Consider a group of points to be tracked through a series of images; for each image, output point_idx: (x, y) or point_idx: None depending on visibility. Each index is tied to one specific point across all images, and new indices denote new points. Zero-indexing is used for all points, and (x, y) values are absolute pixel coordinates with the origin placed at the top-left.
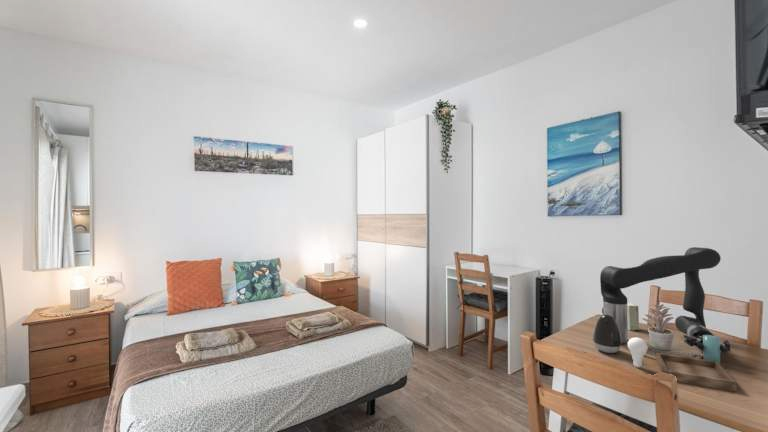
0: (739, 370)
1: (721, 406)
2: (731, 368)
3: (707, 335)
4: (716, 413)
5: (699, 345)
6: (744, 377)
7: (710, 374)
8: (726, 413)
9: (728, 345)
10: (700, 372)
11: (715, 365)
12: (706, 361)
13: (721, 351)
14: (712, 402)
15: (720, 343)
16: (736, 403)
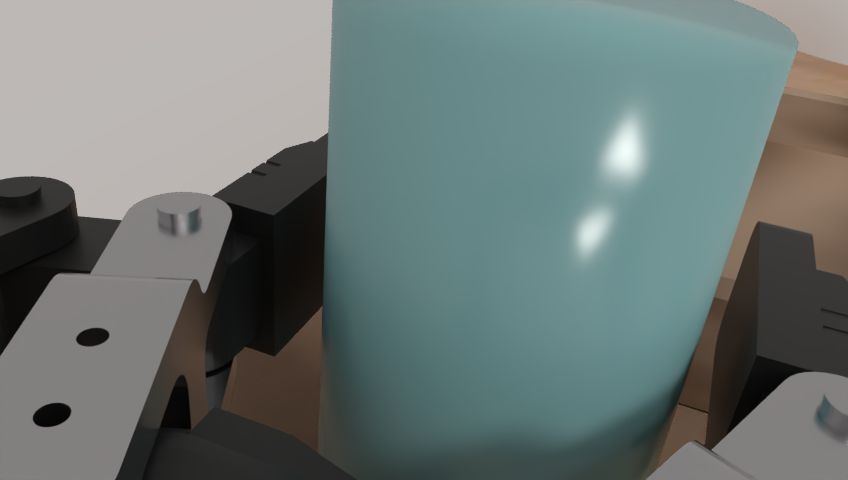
0: (237, 357)
1: (803, 81)
2: (290, 405)
3: (615, 41)
4: (843, 65)
5: (829, 276)
6: None
7: (743, 221)
8: (800, 62)
9: (71, 194)
10: (830, 247)
11: None
12: (722, 285)
13: (321, 305)
14: (836, 95)
15: (178, 248)
16: None
